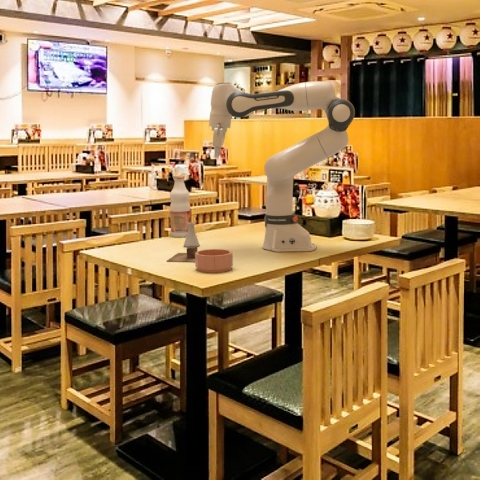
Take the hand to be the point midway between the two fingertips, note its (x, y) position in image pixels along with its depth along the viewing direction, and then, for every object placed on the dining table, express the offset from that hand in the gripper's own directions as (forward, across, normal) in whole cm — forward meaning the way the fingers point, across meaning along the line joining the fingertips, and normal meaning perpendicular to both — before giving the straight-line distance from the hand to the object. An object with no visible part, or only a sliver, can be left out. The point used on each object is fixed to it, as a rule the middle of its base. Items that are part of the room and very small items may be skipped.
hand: (217, 156), depth 270 cm
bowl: (+37, -43, -4) cm, 57 cm away
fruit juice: (+41, +30, +15) cm, 53 cm away
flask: (+40, +3, +8) cm, 40 cm away
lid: (+39, -23, +5) cm, 46 cm away
